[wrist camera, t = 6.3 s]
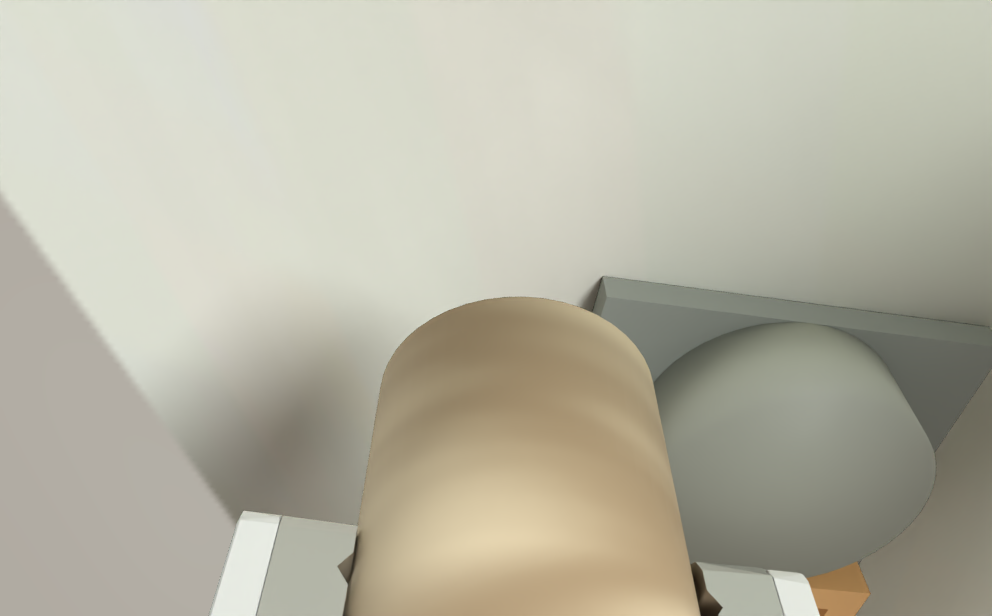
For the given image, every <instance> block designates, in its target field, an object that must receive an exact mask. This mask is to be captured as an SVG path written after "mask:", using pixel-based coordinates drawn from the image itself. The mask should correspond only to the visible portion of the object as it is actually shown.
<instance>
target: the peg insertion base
mask: <svg viewBox="0 0 992 616" xmlns="http://www.w3.org/2000/svg"><path fill="white" fill-rule="evenodd" d="M592 313H594V314H596V315H598V316H600V317H601V318H603V319H605V320H606V321H608V322H610V323H611V324H613V325H614V326H615V327H617V328H618V329H619V330H620V331H622V332H623V333H624V334H625V335H626V336H627V337H628V338H629V339H630V340H631V341H632V342H633V343H634V344H635V345H636V347H637V348H638V350H639V351H640V353H641V354H642V356H643V357H644V359H645V361H646V363H647V365H648V367H649V370H650V373H651V377H652V380H653V384H654V389H655V394H656V399H657V404H658V409H659V414H660V419H661V424H662V429H663V434H664V438H665V443H666V448H667V453H668V458H669V463H670V468H671V473H672V478H673V483H674V488H675V492H676V497H677V502H678V507H679V512H680V517H681V522H682V527H683V532H684V537H685V541H686V546H687V551H688V556H689V561H690V565H691V564H692V563H694V562H705V563H716V564H726V565H737V566H747V567H758V568H763V569H764V570H776V571H787V572H797V573H801V574H803V575H804V576H805V578H806V579H807V580H808V582H809V585H810V588H811V591H812V594H813V597H814V600H815V603H816V606H817V609H818V611H819V614H820V616H855V615H856V613H857V612H858V611H859V609H860V608H861V606H862V605H863V604H864V602H865V601H866V599H867V598H868V597H869V595H870V594H871V593H870V591H869V589H868V586H867V584H866V582H865V579H864V577H863V574H862V572H861V570H860V567H859V563H860V562H861V560H862V559H863V558H865V557H866V556H868V555H870V554H872V553H874V552H876V551H877V550H879V549H880V548H882V547H883V546H885V545H886V544H888V543H889V542H891V541H892V540H893V539H894V538H896V537H897V536H898V535H899V534H901V533H902V532H903V531H904V530H905V529H906V528H907V527H908V526H909V525H910V524H911V523H912V522H913V521H914V519H915V518H916V517H917V516H918V514H919V513H920V512H921V510H922V509H923V507H924V505H925V504H926V502H927V500H928V499H929V496H930V494H931V491H932V489H933V486H934V481H935V477H936V459H935V454H934V453H935V451H936V450H937V448H938V447H939V445H940V444H941V442H942V441H943V439H944V438H945V436H946V435H947V433H948V432H949V431H950V429H951V428H952V426H953V425H954V423H955V422H956V420H957V419H958V417H959V416H960V414H961V413H962V411H963V410H964V408H965V407H966V405H967V404H968V403H969V401H970V400H971V398H972V397H973V395H974V394H975V392H976V391H977V389H978V388H979V386H980V385H981V383H982V382H983V380H984V379H985V377H986V376H987V375H988V373H989V372H990V370H991V369H992V330H991V329H990V327H985V326H978V325H970V324H962V323H955V322H947V321H940V320H932V319H924V318H917V317H909V316H902V315H894V314H886V313H879V312H871V311H864V310H856V309H848V308H841V307H833V306H826V305H818V304H810V303H803V302H795V301H788V300H780V299H772V298H765V297H757V296H750V295H742V294H734V293H727V292H719V291H712V290H704V289H696V288H689V287H681V286H674V285H666V284H658V283H651V282H643V281H636V280H628V279H620V278H613V277H605V276H603V277H602V281H601V284H600V287H599V291H598V294H597V298H596V301H595V304H594V308H593V311H592Z"/></svg>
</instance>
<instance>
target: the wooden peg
mask: <svg viewBox="0 0 992 616" xmlns="http://www.w3.org/2000/svg"><path fill="white" fill-rule="evenodd" d="M345 616H701V615H700V610H699V605H698V600H697V595H696V591H695V586H694V581H693V576H692V571H691V566H690V561H689V556H688V551H687V546H686V541H685V537H684V532H683V527H682V522H681V517H680V512H679V507H678V502H677V497H676V492H675V488H674V483H673V478H672V473H671V468H670V463H669V458H668V453H667V448H666V443H665V438H664V434H663V429H662V424H661V419H660V414H659V409H658V404H657V399H656V394H655V389H654V384H653V380H652V377H651V373H650V370H649V367H648V365H647V363H646V361H645V359H644V357H643V356H642V354H641V353H640V351H639V350H638V348H637V347H636V345H635V344H634V343H633V342H632V341H631V340H630V339H629V338H628V337H627V336H626V335H625V334H624V333H623V332H622V331H620V330H619V329H618V328H617V327H615V326H614V325H613V324H611V323H610V322H608V321H606V320H605V319H603V318H601V317H600V316H598V315H596V314H594V313H592V312H589V311H587V310H585V309H583V308H580V307H577V306H574V305H571V304H567V303H564V302H560V301H555V300H549V299H544V298H533V297H502V298H494V299H486V300H481V301H477V302H473V303H469V304H465V305H462V306H459V307H457V308H454V309H451V310H448V311H446V312H444V313H442V314H440V315H438V316H436V317H434V318H432V319H431V320H429V321H428V322H426V323H425V324H423V325H422V326H420V327H419V328H417V329H416V330H415V331H414V332H413V333H412V334H411V335H409V336H408V337H407V338H406V339H405V340H404V341H403V343H402V344H401V345H400V346H399V347H398V348H397V350H396V351H395V353H394V354H393V356H392V357H391V359H390V361H389V362H388V365H387V367H386V369H385V372H384V374H383V378H382V383H381V388H380V393H379V399H378V405H377V411H376V417H375V423H374V429H373V436H372V442H371V448H370V454H369V460H368V466H367V472H366V478H365V484H364V490H363V496H362V502H361V508H360V514H359V520H358V534H357V541H356V548H355V554H354V560H353V567H352V573H351V578H350V581H349V584H348V589H347V599H346V610H345Z"/></svg>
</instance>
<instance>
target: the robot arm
mask: <svg viewBox="0 0 992 616" xmlns="http://www.w3.org/2000/svg"><path fill="white" fill-rule="evenodd" d="M357 534H358V525H351V524H343V523H336V522H328V521H321V520H313V519H306V518H298V517H291V516H284V515H277V514H268V513H259V512H251V511H243V512H242V514H241V516H240V518H239V520H238V521H237V524H236V527H235V531H234V534H233V537H232V541H231V544H230V547H229V550H228V554H227V557H226V560H225V563H224V567H223V570H222V573H221V576H220V580H219V583H218V586H217V590H216V593H215V596H214V599H213V603H212V606H211V609H210V612H209V616H345V610H346V599H347V589H348V584H349V581H350V578H351V573H352V567H353V560H354V554H355V548H356V541H357ZM690 566H691V571H692V576H693V581H694V586H695V591H696V595H697V600H698V605H699V610H700V615H701V616H820V614H819V611H818V609H817V606H816V603H815V600H814V597H813V594H812V591H811V588H810V585H809V582H808V580H807V579H806V578H805V576H804V575H803V574H801V573H797V572H787V571H776V570H764V569H763V568H758V567H747V566H737V565H726V564H716V563H705V562H694V563H692V564H691V565H690Z"/></svg>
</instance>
